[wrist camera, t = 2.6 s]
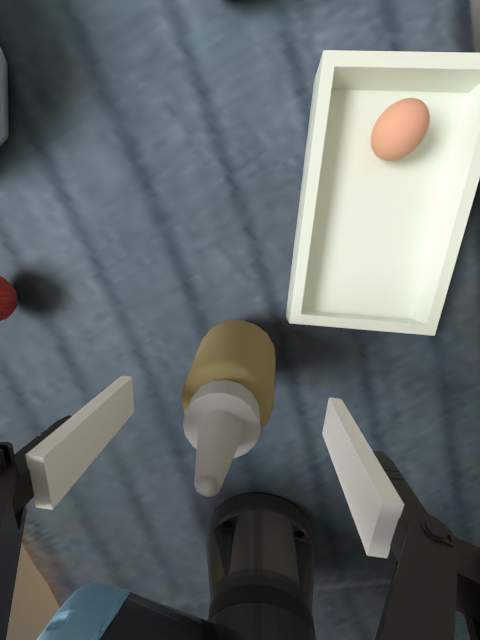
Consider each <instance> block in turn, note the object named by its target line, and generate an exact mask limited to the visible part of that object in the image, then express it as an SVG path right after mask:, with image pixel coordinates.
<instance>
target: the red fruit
mask: <svg viewBox="0 0 480 640" xmlns="http://www.w3.org/2000/svg"><path fill="white" fill-rule="evenodd" d="M17 301H18V297H17V292H16V290H15V289H14V287H13V286H12V285H11V284H10V283H9V282H8V281H7V280H6V279H5V278H3V277H1V276H0V321H1V320H4V319H7V318H8V317H9V316H10V315H11V314H12V313H13V311H14V310H15V309H16V306H17Z"/></svg>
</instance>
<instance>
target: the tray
mask: <svg viewBox="0 0 480 640" xmlns="http://www.w3.org/2000/svg"><path fill="white" fill-rule="evenodd" d="M406 98H416V99H419V100H421V101H423V102H424V103H425V104H426V106H427V107H428V110H429V114H430V122H429V127H428V130H427V133H426V135H425V137H424V138H423V140H422V141H421V143H420V144H419V145H418V146H417V148H415V149H414V150H413V151H412V152H411V153H410V154H408V155H406V156H405V157H403V158H400V159H398V160H393V161H386V160H382V159H380V158H379V157H377V156H376V155H375V154H374V152H373V150H372V147H371V134H372V130H373V127H374V125H375V123H376V121H377V120H378V118H379V117H380V115H381V114H382V113H383V112H384V111H385V110H386V109H387V108H388V107H389V106H391V105H392V104H393V103H395V102H397V101H399V100H402V99H406ZM479 178H480V53H455V52H394V51H334V50H323V54H322V57H321V60H320V63H319V67H318V70H317V73H316V77H315V80H314V85H313V93H312V101H311V110H310V118H309V126H308V135H307V143H306V152H305V160H304V168H303V177H302V185H301V193H300V202H299V210H298V218H297V227H296V235H295V243H294V252H293V260H292V268H291V277H290V285H289V293H288V302H287V310H286V318H287V320H288V321H289V323H292V324H304V325H316V326H327V327H339V328H351V329H362V330H374V331H386V332H397V333H409V334H421V335H432V336H435V333H436V330H437V326H438V322H439V319H440V315H441V312H442V308H443V305H444V301H445V298H446V294H447V291H448V287H449V284H450V280H451V277H452V273H453V270H454V266H455V263H456V259H457V256H458V252H459V249H460V245H461V242H462V238H463V235H464V231H465V228H466V224H467V221H468V217H469V213H470V210H471V206H472V203H473V199H474V196H475V192H476V189H477V185H478V182H479Z"/></svg>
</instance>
